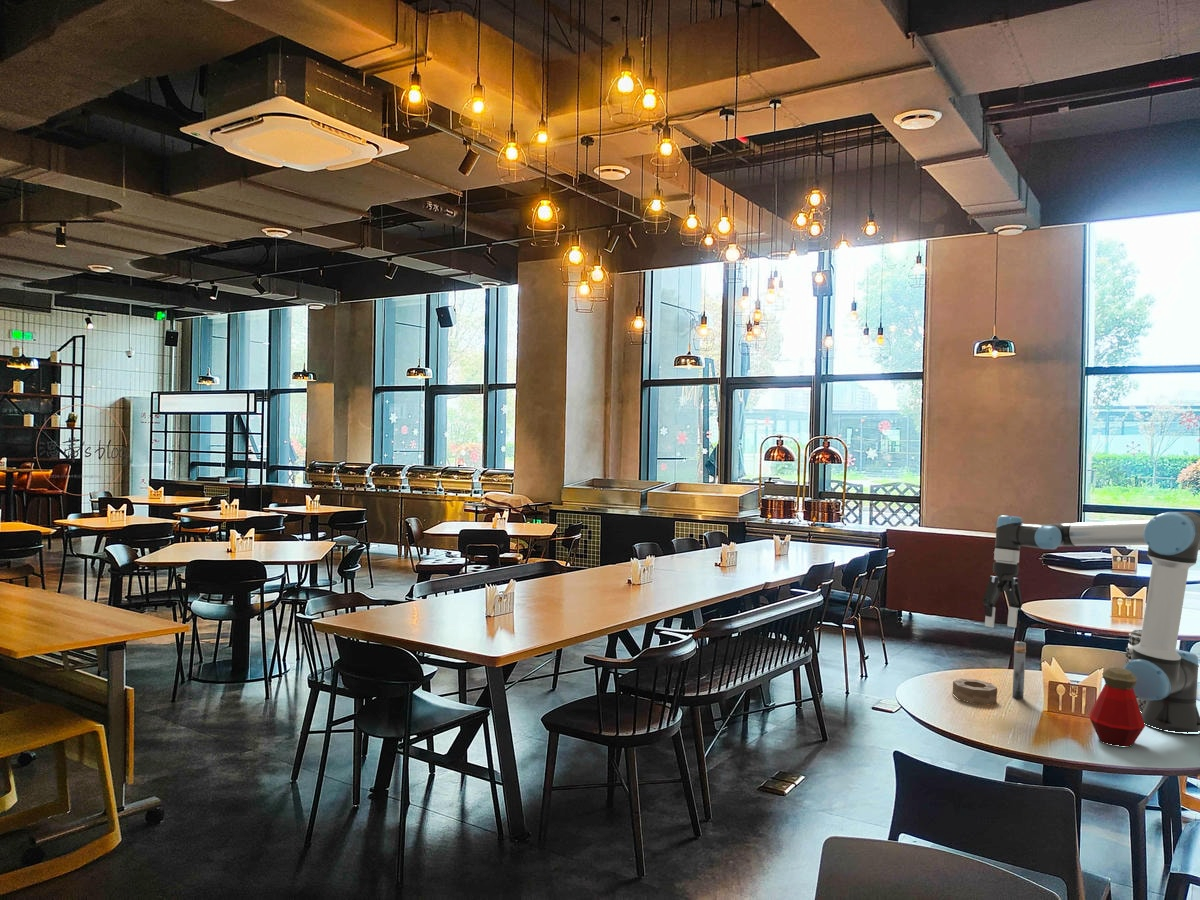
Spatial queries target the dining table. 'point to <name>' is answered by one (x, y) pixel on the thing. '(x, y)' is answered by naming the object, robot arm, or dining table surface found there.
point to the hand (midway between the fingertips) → (1000, 627)
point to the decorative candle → (1133, 640)
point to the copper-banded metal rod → (1019, 670)
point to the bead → (975, 691)
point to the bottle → (1117, 709)
